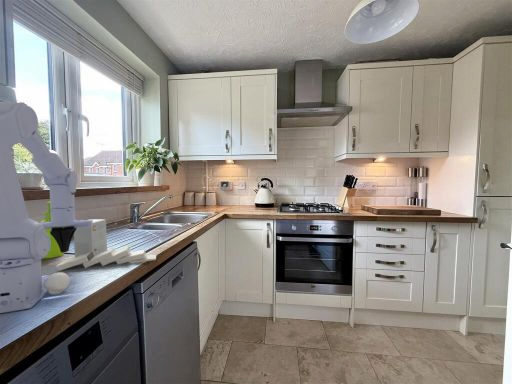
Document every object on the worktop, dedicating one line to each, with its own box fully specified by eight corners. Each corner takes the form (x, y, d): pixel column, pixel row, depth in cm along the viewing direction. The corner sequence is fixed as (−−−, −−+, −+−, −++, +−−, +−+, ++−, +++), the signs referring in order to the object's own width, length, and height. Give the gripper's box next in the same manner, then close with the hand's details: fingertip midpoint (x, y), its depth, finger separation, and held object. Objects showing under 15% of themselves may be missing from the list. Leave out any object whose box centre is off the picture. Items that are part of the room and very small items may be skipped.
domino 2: (85, 268, 71) (112, 256, 74) (82, 263, 71) (110, 251, 73) (89, 263, 76) (115, 251, 78) (87, 258, 75) (113, 247, 78)
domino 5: (129, 266, 76) (156, 263, 79) (129, 261, 76) (155, 258, 78) (131, 261, 80) (156, 258, 83) (131, 257, 80) (156, 254, 83)
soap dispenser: (68, 252, 88) (65, 200, 87) (59, 258, 82) (56, 201, 81) (49, 253, 86) (46, 200, 85) (38, 260, 80) (35, 202, 79)
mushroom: (39, 294, 55) (39, 274, 55) (64, 286, 59) (64, 267, 59) (49, 300, 53) (49, 278, 53) (73, 291, 57) (73, 272, 57)
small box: (91, 253, 87) (89, 219, 86) (107, 253, 87) (106, 219, 86) (74, 260, 79) (72, 223, 78) (92, 260, 79) (90, 223, 78)
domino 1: (58, 271, 69) (89, 260, 72) (56, 266, 69) (87, 255, 71) (64, 265, 73) (94, 256, 76) (62, 261, 73) (92, 251, 76)
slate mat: (127, 266, 74) (127, 265, 74) (30, 278, 65) (30, 276, 65) (131, 257, 82) (131, 256, 82) (46, 267, 73) (46, 265, 73)
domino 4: (117, 264, 74) (144, 257, 77) (116, 259, 74) (143, 253, 77) (120, 259, 79) (145, 253, 81) (119, 255, 78) (144, 249, 81)
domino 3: (102, 266, 73) (128, 254, 75) (100, 261, 73) (126, 249, 75) (106, 261, 77) (131, 250, 80) (104, 257, 77) (128, 246, 79)
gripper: (94, 205, 77) (96, 245, 77) (39, 207, 71) (41, 250, 72) (88, 207, 70) (89, 251, 71) (26, 210, 65) (29, 257, 66)
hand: (64, 251), depth 71 cm, fingers closed
